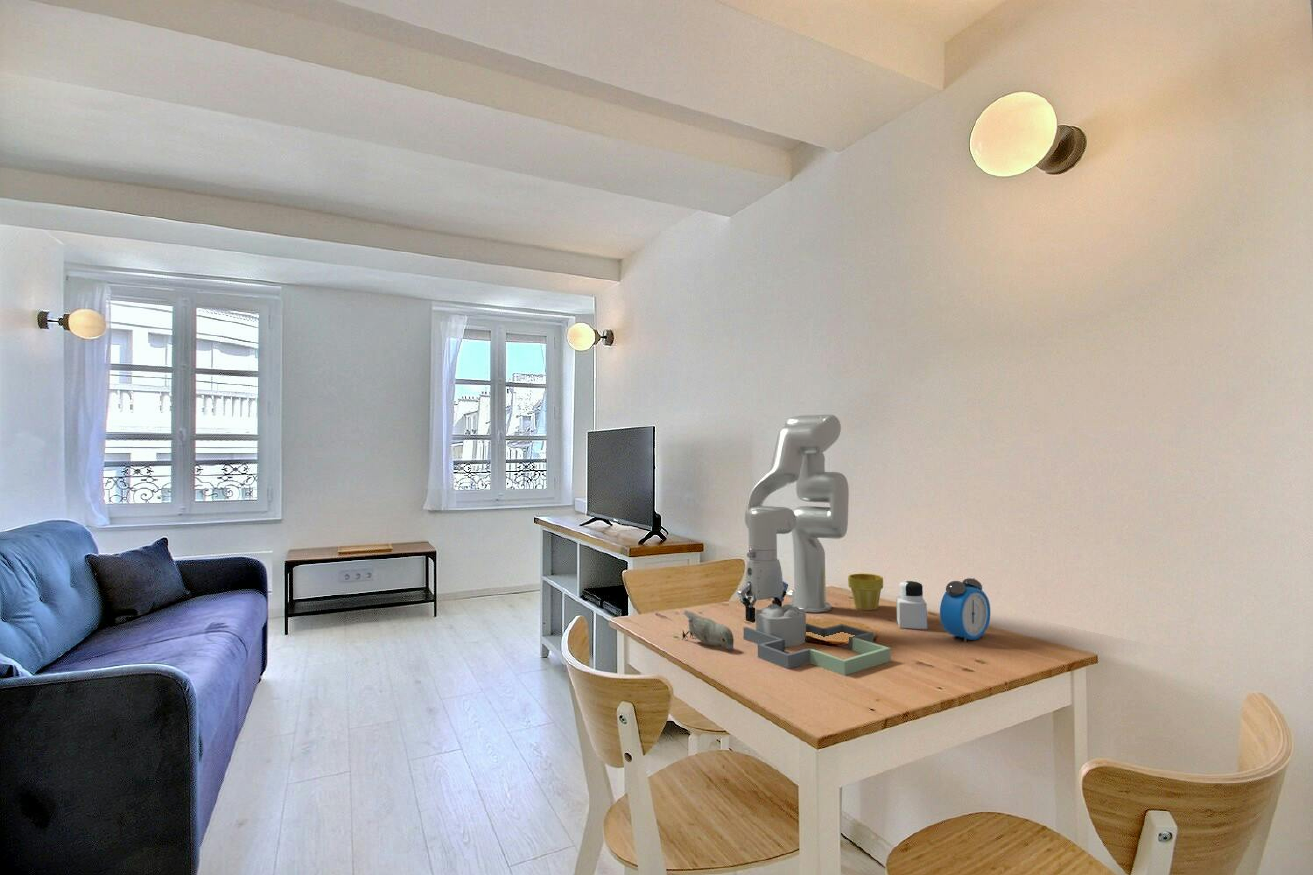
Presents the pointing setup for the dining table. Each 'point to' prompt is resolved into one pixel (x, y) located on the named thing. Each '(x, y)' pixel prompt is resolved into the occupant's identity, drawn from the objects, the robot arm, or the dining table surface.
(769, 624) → the lumpy-topped squat cylinder
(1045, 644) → the dining table surface
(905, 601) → the medicine bottle
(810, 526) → the robot arm
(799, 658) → the lane box
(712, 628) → the decorative bird
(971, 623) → the alarm clock
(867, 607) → the plant pot
